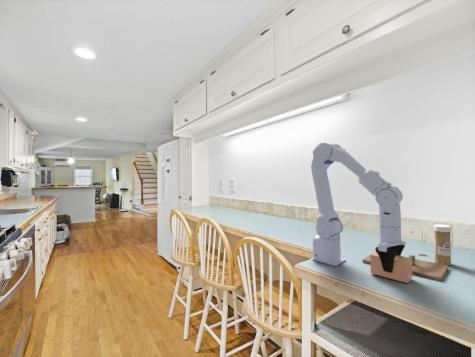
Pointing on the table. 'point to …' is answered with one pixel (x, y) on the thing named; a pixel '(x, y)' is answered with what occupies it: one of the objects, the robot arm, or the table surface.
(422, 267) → the stub board
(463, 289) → the table surface
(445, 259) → the sprinkles bottle
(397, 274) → the block
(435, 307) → the table surface
